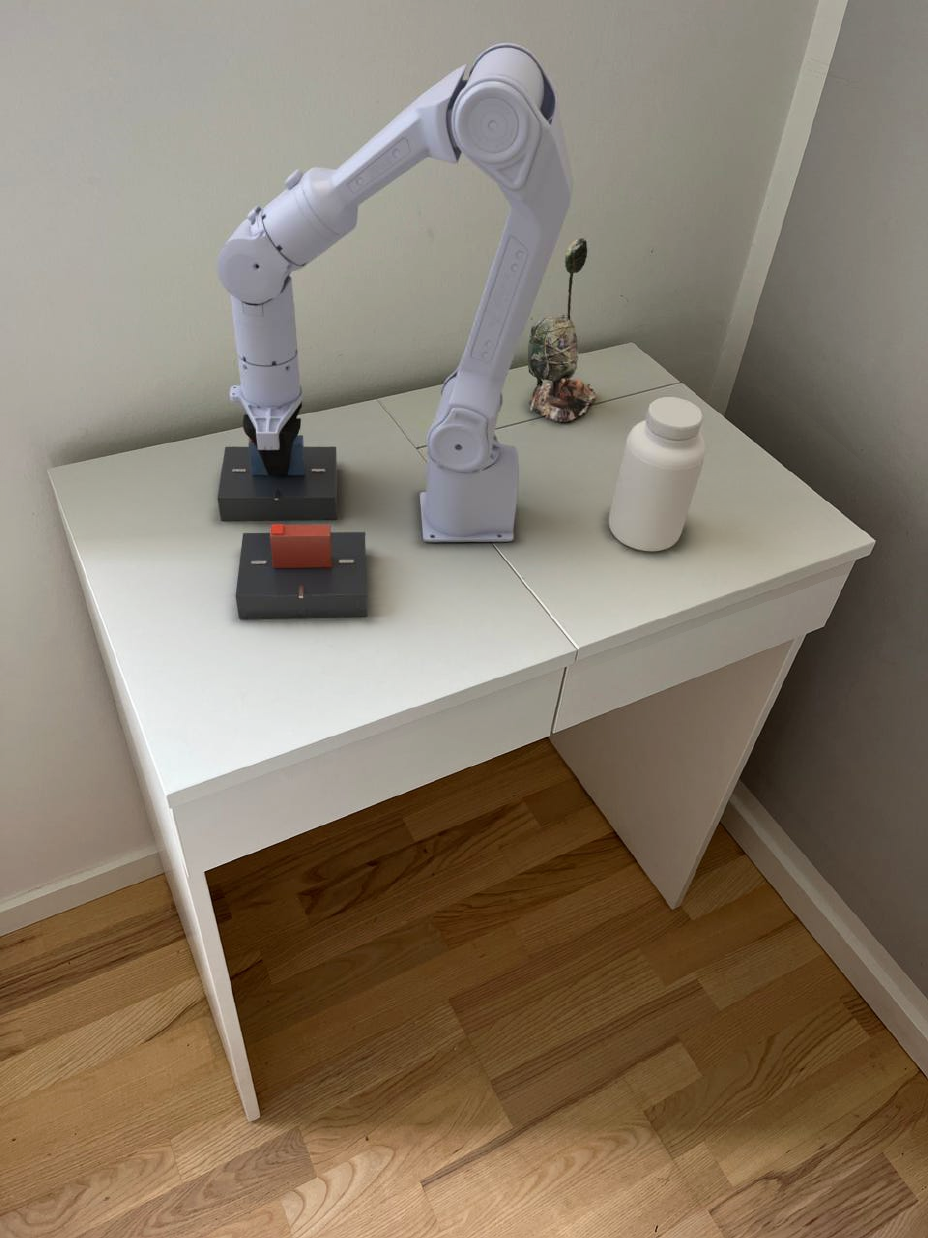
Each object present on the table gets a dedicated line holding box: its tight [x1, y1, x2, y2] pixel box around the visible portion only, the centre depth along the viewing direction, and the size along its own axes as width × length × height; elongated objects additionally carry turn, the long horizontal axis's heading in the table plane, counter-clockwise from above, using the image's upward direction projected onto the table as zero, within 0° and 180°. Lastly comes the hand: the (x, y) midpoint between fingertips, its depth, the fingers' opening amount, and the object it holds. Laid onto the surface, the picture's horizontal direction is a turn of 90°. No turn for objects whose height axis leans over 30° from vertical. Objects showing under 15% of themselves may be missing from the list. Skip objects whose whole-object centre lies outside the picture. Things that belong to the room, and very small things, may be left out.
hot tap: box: [269, 523, 332, 568], centre depth 89 cm, size 6×2×4 cm, turn 95°
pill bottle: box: [608, 396, 707, 552], centre depth 97 cm, size 8×8×15 cm
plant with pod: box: [527, 237, 597, 423], centre depth 111 cm, size 8×11×20 cm
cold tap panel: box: [217, 446, 338, 521], centre depth 102 cm, size 12×10×3 cm
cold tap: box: [247, 434, 305, 475], centre depth 99 cm, size 6×2×4 cm, turn 95°
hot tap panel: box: [235, 531, 368, 620], centre depth 92 cm, size 12×10×3 cm
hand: (278, 466), depth 100 cm, fingers closed
